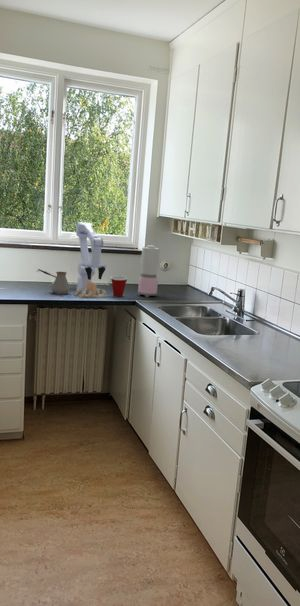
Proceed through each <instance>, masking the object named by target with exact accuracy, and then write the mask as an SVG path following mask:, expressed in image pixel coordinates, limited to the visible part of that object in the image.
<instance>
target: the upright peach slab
mask: <svg viewBox="0 0 300 606" xmlns="http://www.w3.org/2000/svg"><path fill="white" fill-rule="evenodd" d="M97 285H98V284H97V283H95V282H93V281H92V282H87V283H86V290H89V291H92V292H93V295H96V289H97V287H98V286H97Z"/></svg>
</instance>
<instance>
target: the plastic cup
mask: <svg viewBox="0 0 300 606" xmlns="http://www.w3.org/2000/svg"><path fill="white" fill-rule="evenodd" d="M110 280H111V285H112V286H111V287H112V294H113V297H116V296H117V297H119V298H122V297H123V296H124V291H125V288H126V284H127V280H128V277H127V276H124V275H113V276H110ZM121 296H122V297H121Z"/></svg>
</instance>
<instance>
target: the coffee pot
mask: <svg viewBox="0 0 300 606" xmlns="http://www.w3.org/2000/svg"><path fill="white" fill-rule="evenodd" d="M39 272H40V273H41V272H42V273H43V274H45V275H48V276H51V277H53V278H55V279H54V281H53V283H52V286H51V291H52V292H53V293H54V294H56V295H67V294H68V293H69V292H70V291H71V287H70V285H69V282H68V279H67V277H66V275H67V271H56V272H55V273H56V275H53V274H51V273H49V272H48V271H45V270H42V269H39V268H38V269H37V273H39Z"/></svg>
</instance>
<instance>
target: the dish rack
mask: <svg viewBox="0 0 300 606" xmlns="http://www.w3.org/2000/svg"><path fill="white" fill-rule="evenodd" d="M74 296H77V297H79V298H82V299H90V298H107V297H108V294H107V290H104V289H102V288H101V289H100V288H97V289H96V295H93V292H92V291H89V290H86V289H83V290H80V289H77V288H76V290H75V292H74Z"/></svg>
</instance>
